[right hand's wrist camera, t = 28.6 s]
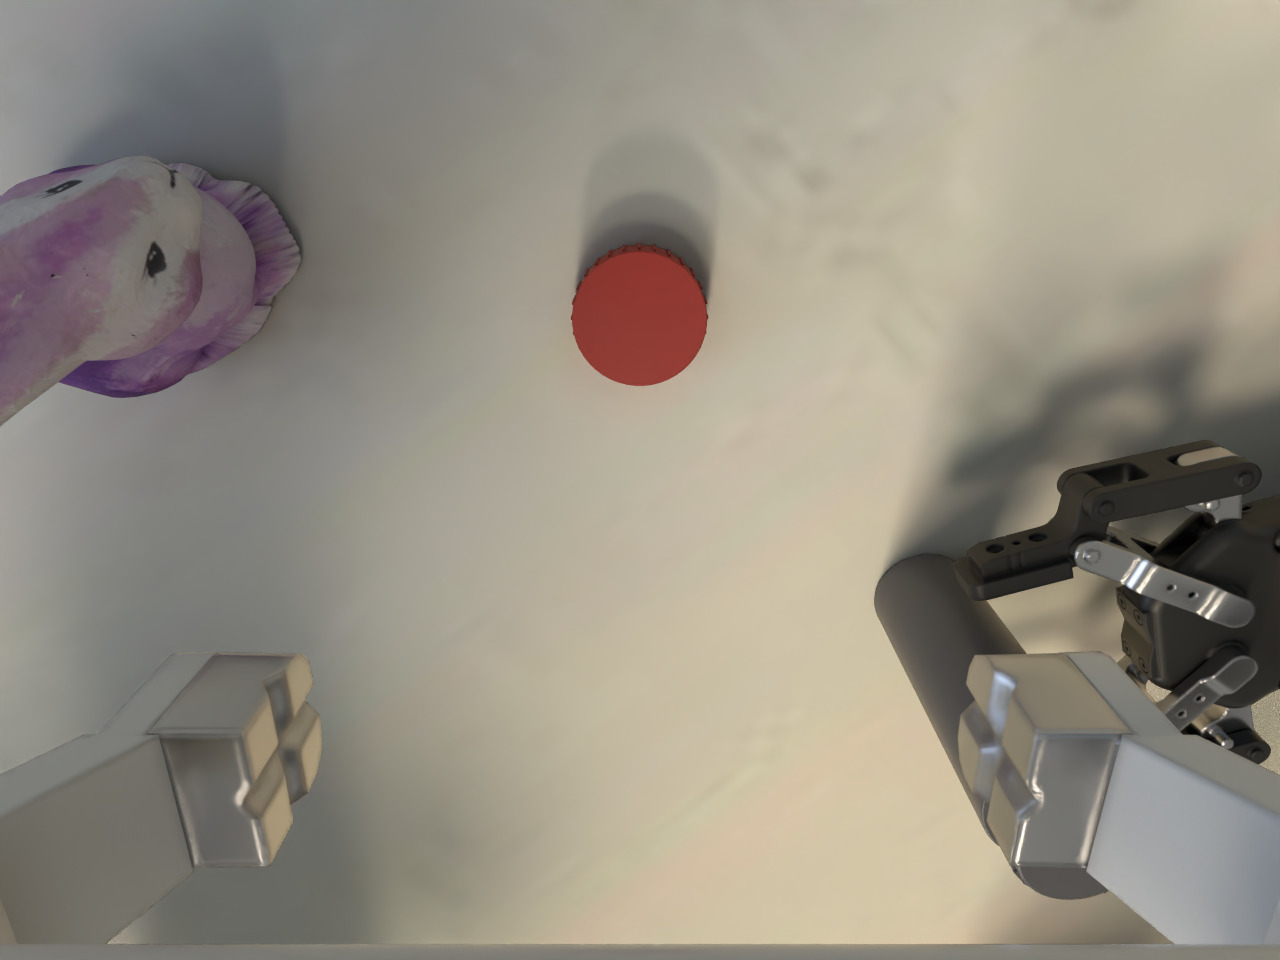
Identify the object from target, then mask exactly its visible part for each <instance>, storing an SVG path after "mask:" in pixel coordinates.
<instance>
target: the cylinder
mask: <svg viewBox="0 0 1280 960" xmlns="http://www.w3.org/2000/svg"><path fill="white" fill-rule="evenodd" d="M874 605H875V610H876V613H877V616H878V618H879V620H880V622H881V624H882V626H883V628H884V630H885V632H886V634H887V636H888V638H889V640H890V642H891V644H892V646H893V648H894V650H895V652H896V654H897V656H898V658H899V660H900V662H901V664H902V666H903V668H904V670H905V672H906V674H907V676H908V678H909V680H910V682H911V684H912V686H913V688H914V690H915V692H916V694H917V696H918V698H919V700H920V702H921V704H922V706H923V708H924V710H925V712H926V714H927V716H928V718H929V720H930V722H931V724H932V726H933V728H934V730H935V732H936V734H937V736H938V738H939V740H940V742H941V744H942V746H943V748H944V750H945V752H946V754H947V756H948V758H949V760H950V762H951V764H952V766H953V768H954V770H955V772H956V774H957V776H958V778H959V780H960V782H961V784H962V786H963V788H964V790H965V792H966V794H967V796H968V798H969V800H970V802H971V804H972V806H973V808H974V810H975V812H976V814H977V816H978V818H979V820H980V822H981V824H982V826H983V828H984V829H985V831H986V833H987V835H988V836H989V837H990V839H991V840H993V841H994V842H995V843H996V844H997V845H998V846H999V844H998V842H997V840H996V838H995V836H994V834H993V832H992V830H991V828H990V827H989V825H988V823H987V817H988V811H989V806H990V805H989V804H988V803H986V802H985V801H983V800H982V799H980V798H979V797H978V796H976V795H975V794H973V793H972V791H971V789H970V787H969V785H968V783H967V781H966V779H965V777H964V774H963V770H962V767H961V763H960V759H959V747H958V731H959V724H960V716H961V714H962V713H963V712H964V711H965V710H966V709H967V708H968V707H969V706H970V705H971V704H972V703H973V702H974V701H975V698H974V697H973V695H972V693H971V692H970V690H969V688H968V686H967V685H966V681H967V676H968V671H969V666H970V664H971V662H972V660H973V658H974V656H975V655H1002V654H1026V652H1025V651H1024V650H1023V648H1022V647H1021V646H1020V644H1019V643H1018V642H1017V640H1016V639H1015V638H1014V636H1013V635H1012V634H1011V632H1010V631H1009V630H1008V628H1007V627H1006V626H1005V624H1004V623H1003V622H1002V620H1001V619H1000V618H999V617H998V615H997V614H996V613H995V611H994V610H993V609H992V607H991V606H990V605H989V603H988V602H987V601H986V600H985V601H975V600H972V599H970V598H969V597H968V596H967V594H966V593H965V592H964V590H963V589H962V587H961V586H960V585H959V583H958V582H957V579H956V574H955V569H954V561H952V560H950V559H948V558H946V557H943V556H939V555H930V554H925V555H917V556H913V557H910V558H907V559H905V560H903V561H901V562H899V563H897V564H896V565H894V566H893V567H892V568H890V569H889V570H888V571H887V572H886V574H885V575H884V576H883V577H882V579H881V581H880V582H879V584H878V587H877V589H876V593H875V599H874ZM1011 868H1012V870H1013V872H1014V873H1015V874H1016V875H1017V876H1018V877H1019V878H1020V880H1021V881H1022V882H1023V883H1024V884H1025V885H1027V886H1029V887H1030V888H1032V889H1033V890H1035V891H1036V892H1038V893H1040V894H1042V895H1045V896H1048V897H1051V898H1056V899H1066V900H1073V899H1082V898H1088V897H1092V896H1095V895H1098V894H1101V893H1106V892H1107V891H1109V890H1108V889H1107V888H1106V887H1104V886H1103V885H1102V884H1101V883H1099V882H1098V881H1097V880H1096V879H1095V878H1093V877H1092V876H1091V875H1090V874H1088V873H1087V872H1086V870H1087V868H1065V867H1029V866H1011Z"/></svg>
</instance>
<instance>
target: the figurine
mask: <svg viewBox="0 0 1280 960" xmlns="http://www.w3.org/2000/svg"><path fill="white" fill-rule="evenodd" d="M300 262H301V257H300V254H299V247H298V246H297V244H296V241H295V240H294V239H293V235H291V234H290V233H289V229H288V228H287V227H286V223H285V222H284V221H283V220H282V216H281V215H280V214H279V210H278V209H277V208H276V207H275V204H274V203H273V202H272V201H271V200H270V198H269V196H268V195H267V194H265V193H263V191H262V190H261V189H260V188H259V187H257V186H255V185H253V184H250V183H247V182H243V181H229V180H217V179H215V178H214V177H212V176H211V175H210V173H209V172H207V171H205V170H204V169H202V168H200V167H197V166H193V165H190V164H187V163H172V164H164V163H162V162H160V161H159V160H157V159H155V158H152V157H148V156H144V155H138V156H129V157H123V158H117V159H115V160H112V161H109V162H106V163H104V164H100V165H81V166H74V167H68V168H63V169H59V170H56V171H53V172H51V173H49V174H47V175H43V176H39V177H36V178H33V179H29V180H27V181H24V182H21V183H19V184H17V185H15V186H14V187H12V188H11V189H9V190H8V191H7V192H5V193H4V194H3V195H2V196H0V426H1V425H3V424H4V423H5V422H6V421H7V420H9V419H10V418H11V417H12V416H14V415H15V414H16V413H17V412H19V411H20V410H21V409H22V408H24V407H25V406H26V405H28V404H29V403H30V402H32V401H33V400H34V399H36V398H37V397H39V396H40V395H41V394H43V393H44V392H45V391H47V390H48V389H49V388H51V387H52V386H53V385H55V384H56V383H57V382H60V383H63V384H67V385H70V386H73V387H77V388H80V389H84V390H87V391H91V392H94V393H98V394H102V395H106V396H110V397H117V398H126V397H138V396H142V395H147V394H151V393H156V392H159V391H161V390H164V389H166V388H168V387H170V386H172V385H174V384H176V383H178V382H179V381H181V380H182V379H183V378H184V377H185V376H186V375H188V374H190V373H193V372H196V371H199V370H202V369H204V368H206V367H207V366H209V365H211V364H212V363H214V362H216V361H218V360H219V359H221V358H223V357H224V356H226V355H228V354H229V353H231V352H232V351H234V350H236V349H237V348H239V347H240V346H242V344H244V343H245V342H247V341H248V340H249V339H250V338H251V337H252V336H254V335H255V334H256V333H257V332H258V331H259V330H260V329H261V328H262V326H263V324H264V322H265V320H266V319H267V317H268V315H269V312H270V310H271V308H272V306H271V303H272V301H273V297H274V296H276V295H278V293H279V291H280V290H281V289H282V288H283V287H284V286H285V285H286V284H287V283H288V282H289V281H290V280H291V279H292V278H293V277H294V275H295V274H296V272H297V270H298V268H299V265H300Z"/></svg>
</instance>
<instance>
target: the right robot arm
mask: <svg viewBox="0 0 1280 960" xmlns="http://www.w3.org/2000/svg"><path fill="white" fill-rule="evenodd" d="M313 685H314V682H313V677H312V672H311V668H310V663H309V660H308V659H307V658H306V657H305V656H303V655H302V654H288V653H239V652H222V653H219V652H181V653H177V654H173V655H171V656H170V657H169V658H168V659H167V660H166V661H165V662H164V663H163V664H162V665H161V667H160V668H159V669H158V670H157V671H156V672H155V673H154V674H153V675H152V676H151V677H150V678H149V679H148V681H147V682H146V683H145V684H144V685H143V686H142V687H141V688H140V689H139V690H138V691H137V692H136V693H135V695H134V696H133V697H132V698H131V699H130V700H129V701H128V702H127V703H126V704H125V705H124V706H123V708H122V709H121V710H120V711H119V712H118V713H117V714H116V715H115V716H114V717H113V718H112V719H111V720H110V722H109V723H108V724H107V725H106V726H105V727H104V728H103V729H102V730H101V731H100V732H99V733H98V734H97V735H82V736H80V737H78V738H76V739H74V740H72V741H70V742H68V743H66V744H63V745H61V746H59V747H57V748H55V749H53V750H51V751H49V752H47V753H45V754H43V755H41V756H38V757H36V758H34V759H32V760H30V761H28V762H26V763H24V764H22V765H20V766H18V767H16V768H13V769H11V770H9V771H7V772H5V773H3V774H1V775H0V960H1280V775H1279V774H1277V773H1275V772H1273V771H1271V770H1268V769H1266V768H1264V767H1262V766H1260V765H1258V764H1256V763H1254V762H1252V761H1250V760H1248V759H1246V758H1244V757H1241V756H1239V755H1237V754H1235V753H1233V752H1231V751H1229V750H1227V749H1225V748H1223V747H1221V746H1219V745H1216V744H1214V743H1212V742H1210V741H1208V740H1206V739H1204V738H1202V737H1200V736H1198V735H1183V734H1182V733H1181V732H1180V731H1179V730H1178V729H1177V728H1176V727H1175V726H1174V725H1173V724H1172V723H1171V721H1170V720H1169V719H1168V718H1167V717H1166V716H1165V715H1164V714H1163V713H1162V712H1161V711H1160V710H1159V709H1158V707H1157V706H1156V705H1155V704H1154V703H1153V702H1152V701H1151V700H1150V699H1149V698H1148V697H1147V696H1146V694H1145V693H1144V692H1143V691H1142V690H1141V689H1140V688H1139V687H1138V686H1137V685H1136V684H1135V683H1134V682H1133V680H1132V679H1131V678H1130V677H1129V676H1128V675H1127V674H1126V673H1125V672H1124V671H1123V670H1122V669H1121V667H1120V666H1119V665H1118V664H1117V663H1116V662H1115V661H1114V660H1113V659H1112V658H1111V657H1110V656H1109V655H1106V654H1104V653H1102V652H1099V651H1095V652H1066V653H1051V654H1002V655H975V656H974V658H973V660H972V662H971V664H970V666H969V671H968V676H967V681H966V685H967V686H968V688H969V690H970V692H971V693H972V695H973V697H974V698H975V701H974V702H973V703H972V704H971V705H970V706H969V707H968V708H967V709H966V710H965V711H964V712H963V713H962V714H961V716H960V724H959V731H958V747H959V759H960V763H961V767H962V770H963V774H964V777H965V779H966V781H967V783H968V785H969V787H970V789H971V791H972V793H973V794H975V795H976V796H978V797H979V798H980V799H982V800H983V801H985V802H986V803H988V804H989V805H990V806H989V811H988V817H987V823H988V825H989V827H990V828H991V830H992V832H993V834H994V836H995V838H996V840H997V842H998V844H999V846H1000V848H1001V850H1002V851H1003V853H1004V855H1005V857H1006V859H1007V861H1008V863H1009V865H1010V866H1029V867H1065V868H1087V870H1086V872H1087V873H1088V874H1090V875H1091V876H1092V877H1093V878H1095V879H1096V880H1097V881H1098V882H1099V883H1101V884H1102V885H1103V886H1104V887H1106V888H1107V889H1108V890H1109V891H1110V892H1112V893H1113V894H1114V895H1115V896H1117V897H1118V898H1119V899H1120V900H1121V901H1123V902H1124V903H1125V904H1126V905H1127V906H1129V907H1130V908H1131V909H1132V910H1134V911H1135V912H1136V913H1137V914H1138V915H1140V916H1141V917H1142V918H1143V919H1145V920H1146V921H1147V922H1148V923H1149V924H1151V925H1152V926H1153V927H1154V928H1155V929H1157V930H1158V931H1159V932H1160V933H1162V934H1163V935H1164V936H1165V937H1166V938H1168V939H1169V940H1170V941H1171V942H1173V943H1174V944H106V943H108V942H109V941H110V940H111V939H113V938H114V937H115V936H116V935H117V934H119V933H120V932H121V931H122V930H124V929H125V928H126V927H127V926H128V925H130V924H131V923H132V922H133V921H135V920H136V919H137V918H138V917H139V916H141V915H142V914H143V913H144V912H146V911H147V910H148V909H149V908H150V907H152V906H153V905H154V904H155V903H157V902H158V901H159V900H160V899H161V898H163V897H164V896H165V895H166V894H167V893H169V892H170V891H171V890H172V889H174V888H175V887H176V886H177V885H178V884H180V883H181V882H182V881H183V880H185V879H186V878H187V877H188V876H189V875H191V874H192V873H193V871H194V870H193V868H214V867H249V866H270V865H271V863H272V861H273V859H274V857H275V855H276V854H277V852H278V850H279V848H280V846H281V844H282V842H283V840H284V838H285V836H286V834H287V832H288V830H289V828H290V827H291V825H292V823H293V817H292V811H291V806H290V805H291V804H292V803H294V802H295V801H297V800H298V799H300V798H301V797H302V796H304V795H305V794H307V793H308V791H309V789H310V787H311V785H312V783H313V781H314V779H315V777H316V775H317V770H318V766H319V761H320V757H321V752H322V729H321V722H320V716H319V714H318V713H317V712H316V711H315V710H314V709H313V708H312V707H311V706H310V705H309V704H308V703H307V702H306V701H305V698H306V697H307V695H308V693H309V692H310V690H311V688H312V686H313Z"/></svg>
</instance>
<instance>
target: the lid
mask: <svg viewBox="0 0 1280 960" xmlns="http://www.w3.org/2000/svg"><path fill="white" fill-rule="evenodd" d="M584 276H585V277H584V279H583V281H582V282H581V281H580V282H579V284H578V287H577V289H576V290H578V292H577V295H575V297H574V299H573V302H572V305H573V313H572V316H571V320H572V325H573V335H574V336H575V339H576V342H577V344H578V347H579V349H580V351H581V352H582V354H583V356H584V357H585V359H586V360H587V361H588V362H589V364H590V365H591V366H592V367H594V368H595V369H596V370H597V371H598V372H600V373H601V374H602V375H604V376H606V377H607V378H609V379H611V380H614V381H616V382H619V383H622V384H626V385H634V386H646V385H653V384H657V383H661V382H663V381H666V380H668V379H670V378H672V377H674V376H675V375H677V374H678V373H680V372H681V371H682V370H684V369H685V368H686V367H687V366H688V365H689V364H690V363H691V361H692V360H693V359H694V358H695V356H696V354H697V353H698V351H699V349H700V348H701V345H702V343H703V340H704V336H705V334H706V327H707V319H708V315H707V311H706V305H705V304H707V301H706V299H705V296H704V294H703V295H702V292H701V290H702V286H701V284H700V282H699V280H698V281H697V280H696V278H695V275H694V272H693V270H692V268H690V269H689V268H688V267H687V266H686V265H685V263H684V262H683V259H682V258H681V257H680V258H678V257H676V256H675V255H673V254H672V253H670V250H668V249H667V251H666V250H663V249H661V248H658V247H656V245H654V244H653V246H649V245H641V243H638V245H631V246H626V244H625V245H623V247H622V248H618V249H616V250H613V251H612V250H609V252H608V254H606V255H604V256H603V257H602V258H600V259H599V258H597V259H596V262H595V264H594V265H593V266H592V267H591V268H590V269H587V270H586V272H585V275H584Z"/></svg>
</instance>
